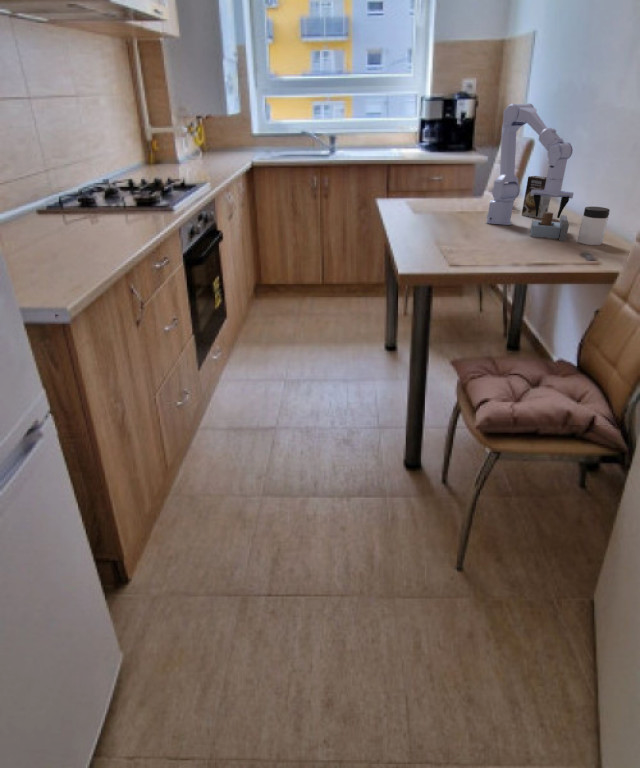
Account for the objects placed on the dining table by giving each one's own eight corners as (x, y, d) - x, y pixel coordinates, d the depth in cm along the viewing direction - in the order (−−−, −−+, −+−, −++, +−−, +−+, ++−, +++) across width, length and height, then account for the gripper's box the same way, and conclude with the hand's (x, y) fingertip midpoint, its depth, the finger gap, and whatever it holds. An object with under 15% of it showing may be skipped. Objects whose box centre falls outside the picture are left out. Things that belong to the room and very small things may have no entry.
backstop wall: (559, 241, 209) (562, 224, 206) (557, 230, 224) (560, 215, 222) (565, 241, 209) (568, 224, 206) (563, 231, 224) (566, 215, 221)
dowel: (539, 235, 217) (543, 213, 214) (538, 233, 220) (543, 211, 217) (549, 236, 216) (553, 214, 213) (548, 234, 219) (553, 212, 216)
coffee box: (520, 215, 251) (527, 176, 243) (528, 213, 254) (535, 175, 247) (539, 218, 245) (547, 179, 237) (547, 217, 248) (555, 177, 241)
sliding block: (530, 236, 215) (532, 225, 213) (530, 230, 224) (532, 220, 222) (558, 238, 213) (560, 227, 211) (557, 233, 221) (559, 222, 219)
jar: (607, 244, 206) (616, 209, 201) (591, 246, 203) (599, 211, 197) (587, 238, 213) (595, 205, 208) (571, 240, 210) (579, 207, 204)
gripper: (533, 178, 207) (526, 217, 214) (576, 181, 204) (568, 220, 210) (533, 176, 213) (527, 213, 220) (575, 178, 209) (567, 216, 216)
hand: (547, 216), depth 215 cm, fingers open, 7 cm apart
